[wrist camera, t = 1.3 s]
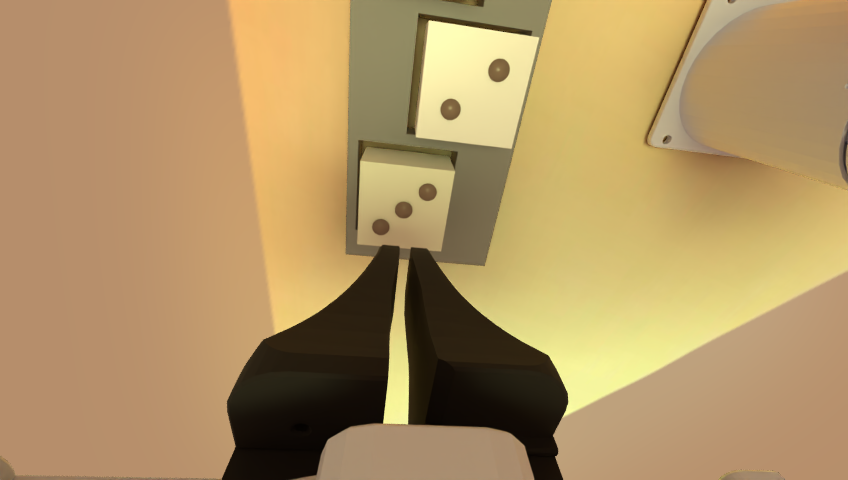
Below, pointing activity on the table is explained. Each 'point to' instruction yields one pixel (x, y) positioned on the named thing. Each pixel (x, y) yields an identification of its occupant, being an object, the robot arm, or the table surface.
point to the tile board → (389, 106)
